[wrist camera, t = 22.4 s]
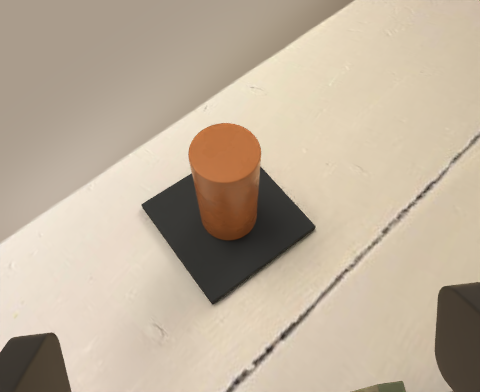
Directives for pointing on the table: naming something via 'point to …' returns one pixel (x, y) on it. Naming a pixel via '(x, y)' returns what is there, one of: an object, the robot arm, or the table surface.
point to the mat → (226, 251)
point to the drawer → (385, 388)
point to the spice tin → (226, 179)
